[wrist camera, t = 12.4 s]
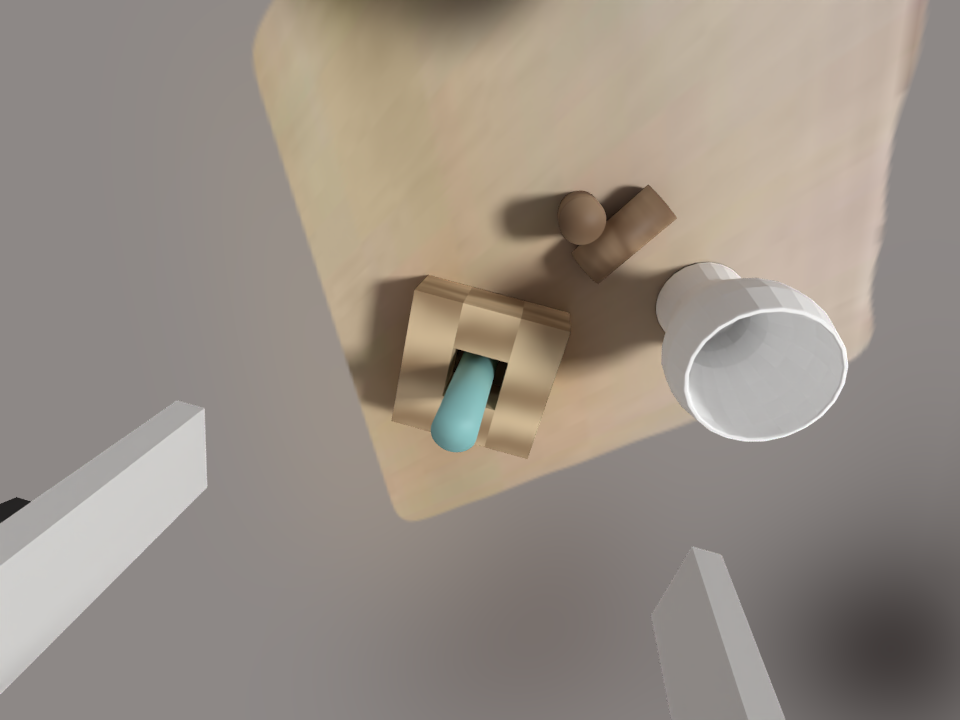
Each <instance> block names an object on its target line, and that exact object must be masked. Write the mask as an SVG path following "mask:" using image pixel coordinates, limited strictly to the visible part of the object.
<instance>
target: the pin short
mask: <svg viewBox="0 0 960 720" xmlns="http://www.w3.org/2000/svg"><path fill="white" fill-rule="evenodd" d="M558 221H559V227H560V231H561V233H562V235H563V236H564V237H565V239H567V240H568V241H569V242H571V243H573V244H577V245H585V244H589V243H591V242H593V241H595V240H596V239H597V238H599V236H600V235H601V234H602V232H603V231H604V228H605V225H606V214H605V211H604V209H603V207H602V206H601V204H600V203H599V202H598V201H597V199H596V198H595V197H594V196H593V195H592V194H590V193H588V192H585V191H575V192H572V193H570V194H568V195H567V196H566V197H565V198H564V199H563V200H562V201H561V203H560V205H559V208H558Z"/></svg>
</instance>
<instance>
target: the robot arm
mask: <svg viewBox="0 0 960 720" xmlns="http://www.w3.org/2000/svg"><path fill="white" fill-rule="evenodd" d="M206 488H207V467H206V438H205V410H204V408H202V407H199V406H195V405H191V404H188V403H184V402H181V401H178V400H177V401H175V402H174V403H173V404H171V405H170V406H168V407H167V408H165V409H164V410H163V411H161V412H160V413H158V414H157V415H155V416H154V417H152V418H151V419H150V420H148V421H147V422H145V423H144V424H142V425H141V426H140V427H138V428H137V429H135V430H134V431H132V432H131V433H130V434H128V435H127V436H125V437H124V438H123V439H121V440H119V441H118V442H117V443H115V444H114V445H112V446H111V447H109V448H108V449H106V450H105V451H104V452H102V453H101V454H99V455H98V456H97V457H95V458H94V459H92V460H91V461H89V462H88V463H86V464H85V465H84V466H82V467H81V468H79V469H78V470H76V471H75V472H74V473H72V474H71V475H69V476H68V477H66V478H65V479H63V480H62V481H61V482H59V483H58V484H56V485H55V486H53V487H52V488H50V489H49V490H48V491H46V492H45V493H43V494H42V495H41V496H39V497H38V498H36V499H35V500H33V501H32V502H31V501H27V500H24V499H20V498H17V497H16V498H14V499H11V500H9V501H7V502H4V503H1V504H0V694H1V693H2V692H3V691H4V690H5V689H6V688H7V687H8V686H9V685H10V684H11V683H12V682H13V681H14V680H15V679H16V678H17V677H18V676H19V675H20V674H21V673H22V672H23V671H24V670H25V669H26V668H27V667H28V666H29V665H30V664H31V663H32V662H33V661H34V660H35V659H36V658H37V657H38V656H39V655H40V654H41V653H42V652H43V651H44V650H45V649H46V648H47V647H48V646H49V645H50V644H51V643H52V642H53V641H54V640H55V639H56V638H57V637H58V636H59V635H60V634H61V633H62V632H63V631H64V630H65V629H66V628H67V627H68V626H69V625H70V624H71V623H72V622H73V621H74V620H75V619H76V618H77V617H78V616H79V615H80V614H81V613H82V612H83V611H84V610H85V609H86V608H87V607H88V606H89V605H90V604H91V603H92V602H93V601H94V600H95V599H96V598H97V597H98V596H99V595H100V594H101V593H102V592H103V591H104V590H105V589H106V588H107V587H108V586H109V585H110V584H111V583H112V582H113V581H114V580H115V579H116V578H117V577H118V576H119V575H120V574H121V573H122V572H123V571H124V570H125V569H126V568H127V567H128V566H129V565H130V564H131V563H132V562H133V561H134V560H135V559H136V558H137V557H138V556H139V555H140V554H141V553H142V552H143V551H144V550H145V549H146V548H147V547H148V546H149V545H150V544H151V543H152V542H153V541H154V540H155V539H156V538H157V537H158V536H159V535H160V534H161V533H162V532H163V531H164V530H165V529H166V528H167V527H168V526H169V525H170V524H171V523H172V522H173V521H174V520H175V519H176V518H177V517H178V516H179V515H180V514H181V513H182V512H183V511H184V510H185V509H186V507H188V506H189V505H190V504H191V503H192V502H193V500H195V499H196V498H197V497H198V496H199V495H200V494H201V493H202V492H203V490H205V489H206ZM651 618H652V624H653V629H654V634H655V639H656V645H657V650H658V655H659V660H660V665H661V670H662V676H663V681H664V686H665V691H666V697H667V702H668V707H669V712H670V718H671V720H785V717H784V715H783V712H782V710H781V707H780V704H779V702H778V699H777V697H776V694H775V691H774V689H773V686H772V684H771V681H770V679H769V676H768V673H767V671H766V668H765V666H764V663H763V661H762V658H761V655H760V653H759V650H758V648H757V645H756V643H755V640H754V637H753V635H752V632H751V629H750V627H749V624H748V622H747V619H746V617H745V614H744V611H743V609H742V606H741V604H740V601H739V598H738V596H737V593H736V591H735V588H734V586H733V583H732V580H731V578H730V575H729V573H728V570H727V568H726V565H725V562H724V560H723V557H722V555H721V554H717V553H713V552H710V551H707V550H703V549H700V548H696V547H693V546H692V547H691V549H690V551H689V552H688V554H687V556H686V557H685V559H684V561H683V562H682V564H681V566H680V567H679V569H678V571H677V572H676V574H675V576H674V577H673V579H672V581H671V582H670V584H669V586H668V587H667V589H666V591H665V593H664V594H663V596H662V597H661V599H660V601H659V603H658V604H657V606H656V608H655V609H654V611H653V613H652V614H651Z"/></svg>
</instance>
